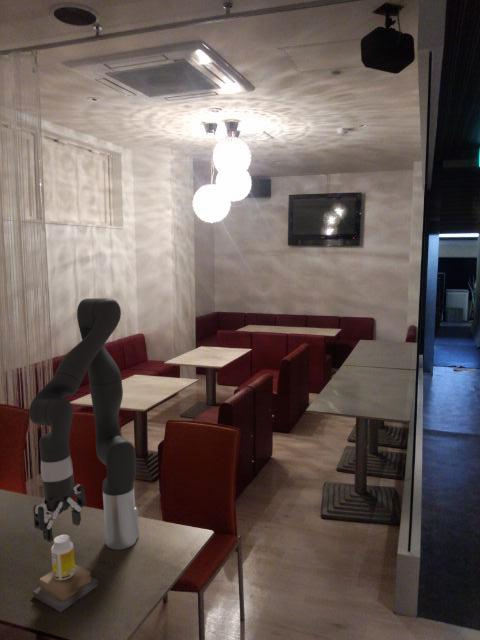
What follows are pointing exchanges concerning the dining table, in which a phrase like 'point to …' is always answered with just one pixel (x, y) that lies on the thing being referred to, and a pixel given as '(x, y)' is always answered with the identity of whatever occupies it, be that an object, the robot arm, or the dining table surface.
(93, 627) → the dining table surface
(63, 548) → the supplement bottle
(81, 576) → the pedestal
